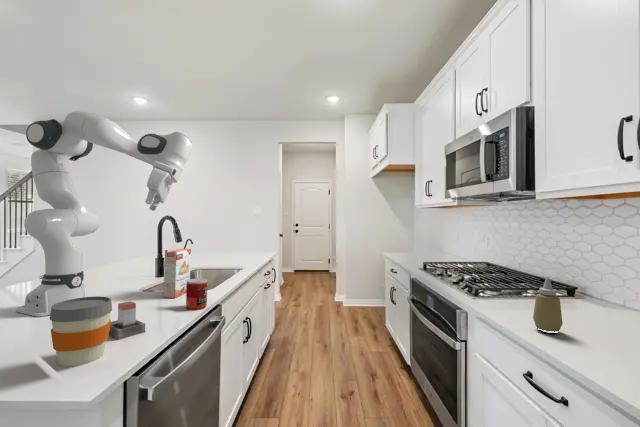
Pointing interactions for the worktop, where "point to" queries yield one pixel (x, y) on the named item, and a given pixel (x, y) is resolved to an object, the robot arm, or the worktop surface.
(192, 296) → the canned food
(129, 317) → the steel peg
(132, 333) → the square open tray
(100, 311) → the reusable coffee cup
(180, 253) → the cracker box
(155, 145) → the robot arm
